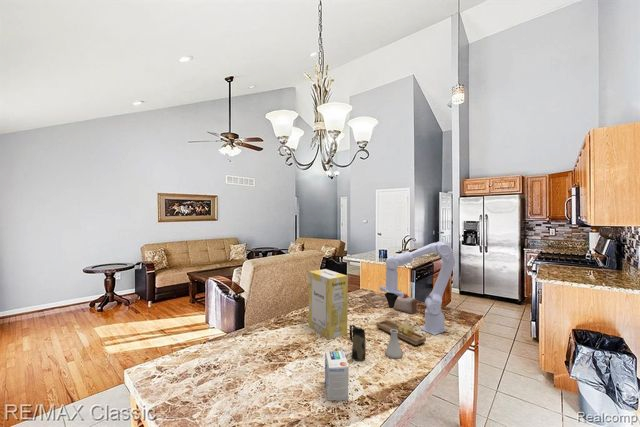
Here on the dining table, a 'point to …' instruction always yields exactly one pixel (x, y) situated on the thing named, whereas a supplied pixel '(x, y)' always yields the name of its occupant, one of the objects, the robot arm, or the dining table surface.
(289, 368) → the dining table surface
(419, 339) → the brown rectangular tray
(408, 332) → the yellow block
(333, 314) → the pasta box
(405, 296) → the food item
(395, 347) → the flask
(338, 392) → the light bulb box
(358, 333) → the mug
